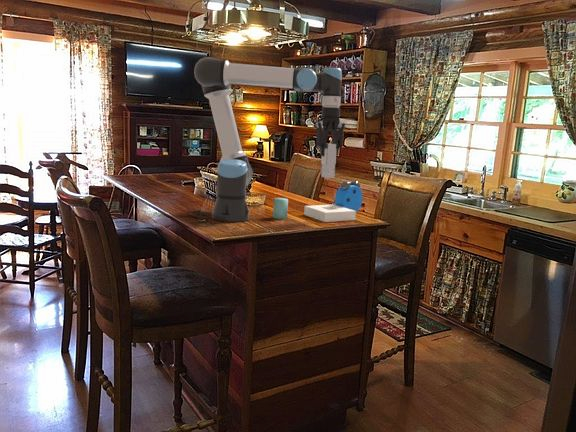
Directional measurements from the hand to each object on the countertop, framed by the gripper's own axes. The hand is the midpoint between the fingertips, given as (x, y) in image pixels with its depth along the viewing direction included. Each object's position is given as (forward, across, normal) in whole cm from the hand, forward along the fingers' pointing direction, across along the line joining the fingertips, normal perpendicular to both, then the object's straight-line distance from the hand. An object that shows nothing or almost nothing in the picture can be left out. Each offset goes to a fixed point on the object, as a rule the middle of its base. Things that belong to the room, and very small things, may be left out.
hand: (328, 163), depth 208 cm
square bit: (+6, 0, 0) cm, 6 cm away
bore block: (+24, +3, +2) cm, 24 cm away
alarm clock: (+24, +18, +8) cm, 31 cm away
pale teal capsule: (+23, -19, +6) cm, 31 cm away
